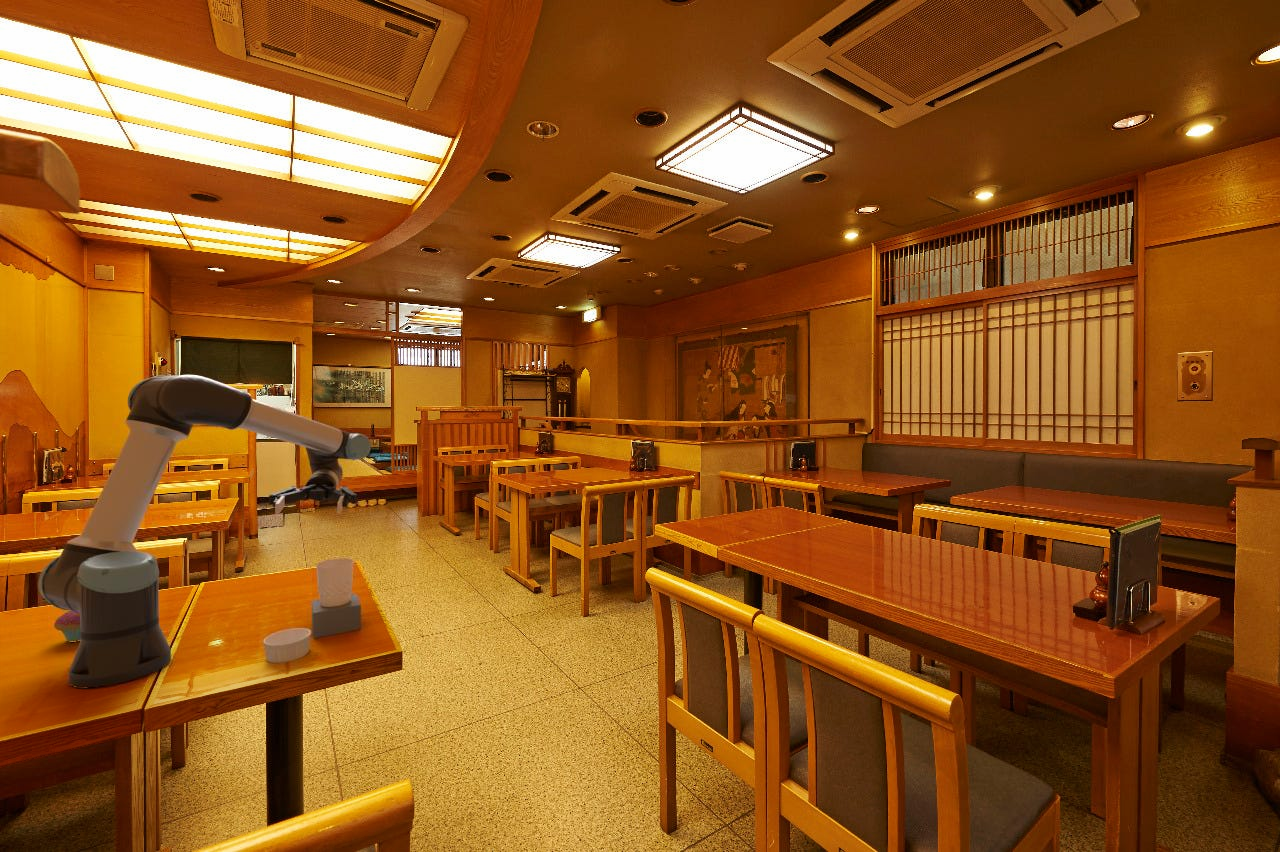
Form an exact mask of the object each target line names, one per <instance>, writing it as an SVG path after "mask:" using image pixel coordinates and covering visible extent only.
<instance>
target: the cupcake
mask: <svg viewBox="0 0 1280 852" xmlns="http://www.w3.org/2000/svg"><path fill="white" fill-rule="evenodd" d="M53 626H54V629H56V630H57V631H61V633H62V634H63V635H64V636H63V637H65V639H66V641H78V640H81V633H80V614H79V613H76V612H73V611H69V610H68V611H67V612H65V613H63V614H62V615H60V616H58V618H56V619H55V622H54V624H53Z"/></svg>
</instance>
